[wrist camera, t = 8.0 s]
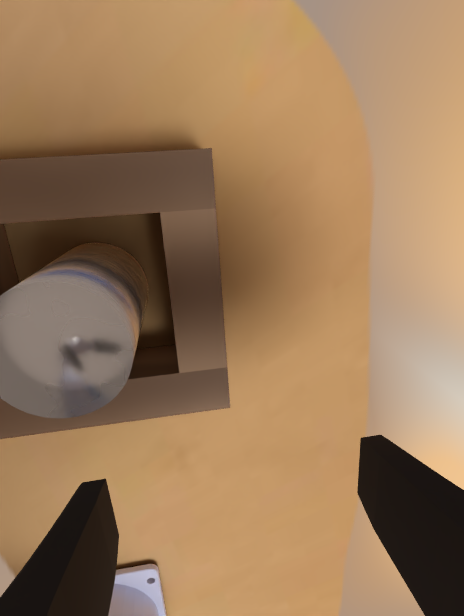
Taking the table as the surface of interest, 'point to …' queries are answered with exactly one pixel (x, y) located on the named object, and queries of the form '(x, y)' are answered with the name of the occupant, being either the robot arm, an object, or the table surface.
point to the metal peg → (72, 332)
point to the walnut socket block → (179, 260)
